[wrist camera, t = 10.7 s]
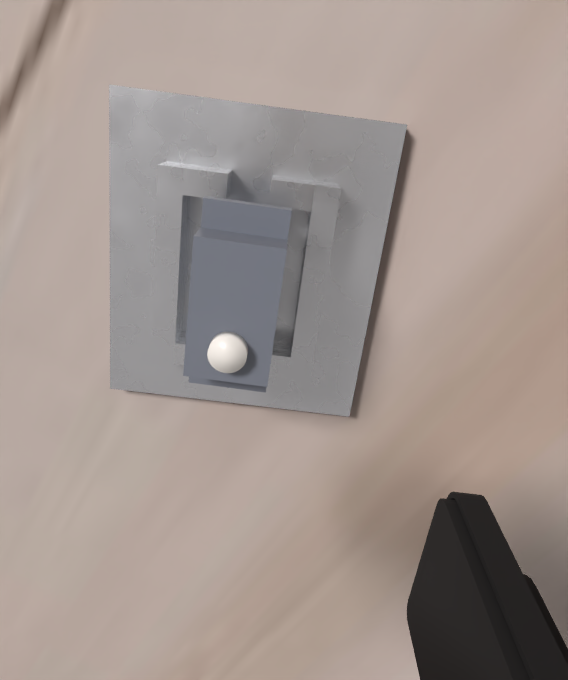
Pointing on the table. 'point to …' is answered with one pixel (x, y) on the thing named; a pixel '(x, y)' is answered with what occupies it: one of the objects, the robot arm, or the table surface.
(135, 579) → the table surface
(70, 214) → the table surface
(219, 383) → the block
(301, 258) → the plate
